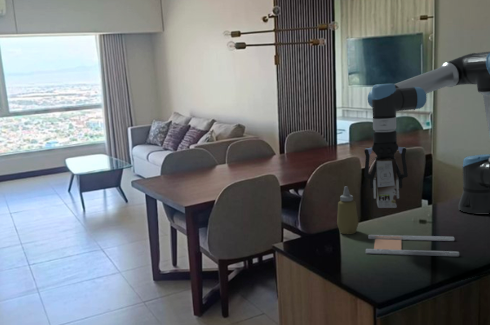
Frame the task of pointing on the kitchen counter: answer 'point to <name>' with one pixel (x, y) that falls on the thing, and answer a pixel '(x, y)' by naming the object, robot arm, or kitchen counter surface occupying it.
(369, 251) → the rail
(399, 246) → the pad
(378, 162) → the coffee box
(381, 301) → the kitchen counter surface
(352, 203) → the squeeze bottle
